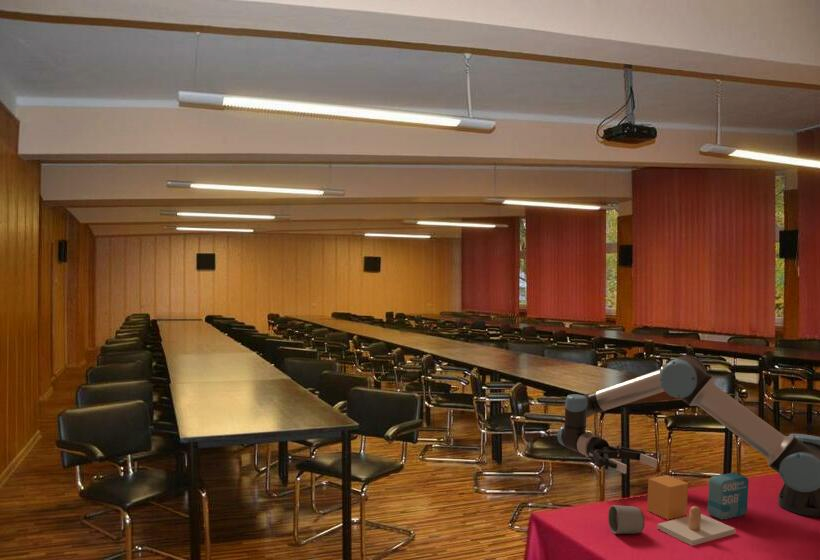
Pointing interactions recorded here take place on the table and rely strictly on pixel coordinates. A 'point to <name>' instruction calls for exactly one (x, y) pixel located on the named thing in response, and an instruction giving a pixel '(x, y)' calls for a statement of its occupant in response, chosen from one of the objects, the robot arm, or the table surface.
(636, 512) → the ceramic mug
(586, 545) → the table surface
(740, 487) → the data package
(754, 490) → the table surface
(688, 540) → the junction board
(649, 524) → the table surface
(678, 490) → the tall orange block
